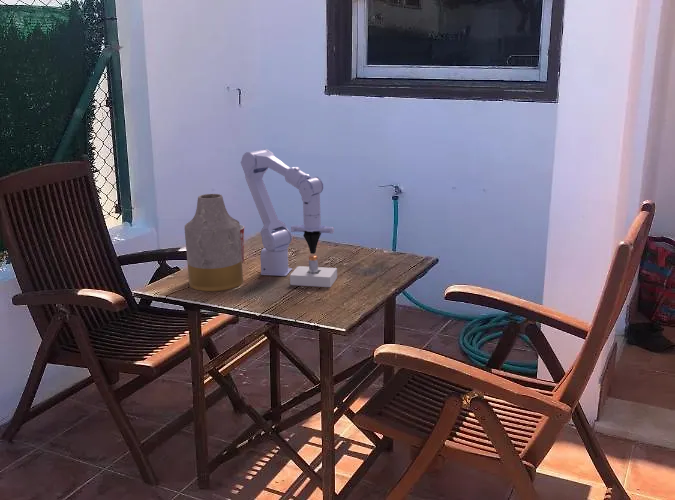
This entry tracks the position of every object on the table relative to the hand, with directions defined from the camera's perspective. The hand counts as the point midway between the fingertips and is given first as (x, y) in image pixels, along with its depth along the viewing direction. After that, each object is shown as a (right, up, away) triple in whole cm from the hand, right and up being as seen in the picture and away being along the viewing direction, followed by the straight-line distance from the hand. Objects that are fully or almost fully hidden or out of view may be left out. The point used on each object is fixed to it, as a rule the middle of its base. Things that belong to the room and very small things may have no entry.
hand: (313, 252), depth 247 cm
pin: (0, -10, +3) cm, 10 cm away
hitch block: (0, -10, +3) cm, 10 cm away
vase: (-34, -10, +4) cm, 35 cm away
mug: (-32, -3, +27) cm, 42 cm away
